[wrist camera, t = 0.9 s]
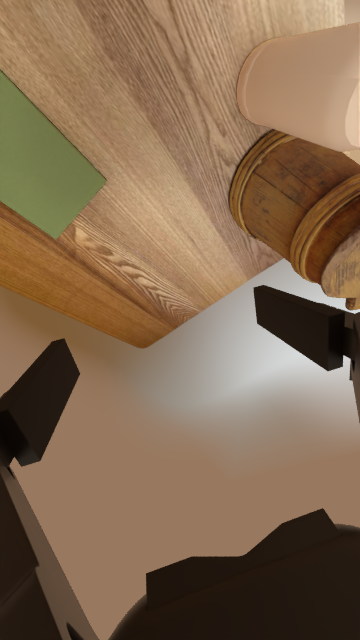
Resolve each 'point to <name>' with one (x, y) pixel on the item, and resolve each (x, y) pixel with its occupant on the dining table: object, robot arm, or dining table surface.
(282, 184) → the tankard
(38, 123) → the sage mat
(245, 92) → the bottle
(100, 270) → the dining table surface
